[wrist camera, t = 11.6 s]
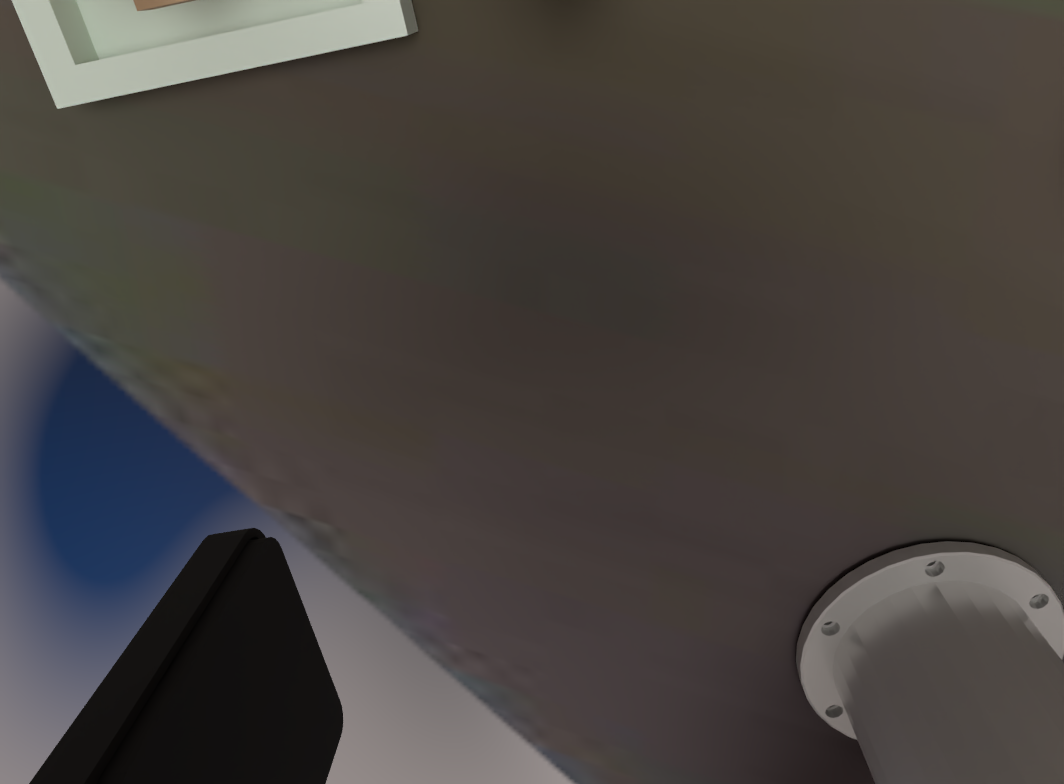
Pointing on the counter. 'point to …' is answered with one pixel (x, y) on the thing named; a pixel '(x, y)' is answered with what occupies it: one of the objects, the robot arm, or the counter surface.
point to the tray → (190, 39)
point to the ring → (156, 4)
